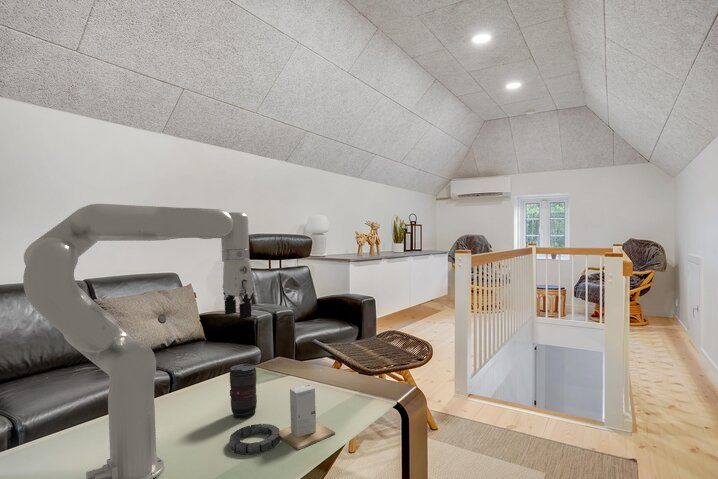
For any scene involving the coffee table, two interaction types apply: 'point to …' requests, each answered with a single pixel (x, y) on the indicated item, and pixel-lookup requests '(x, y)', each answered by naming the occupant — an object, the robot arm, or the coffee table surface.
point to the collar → (257, 446)
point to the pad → (305, 436)
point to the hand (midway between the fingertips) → (237, 315)
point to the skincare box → (302, 410)
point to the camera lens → (243, 390)
